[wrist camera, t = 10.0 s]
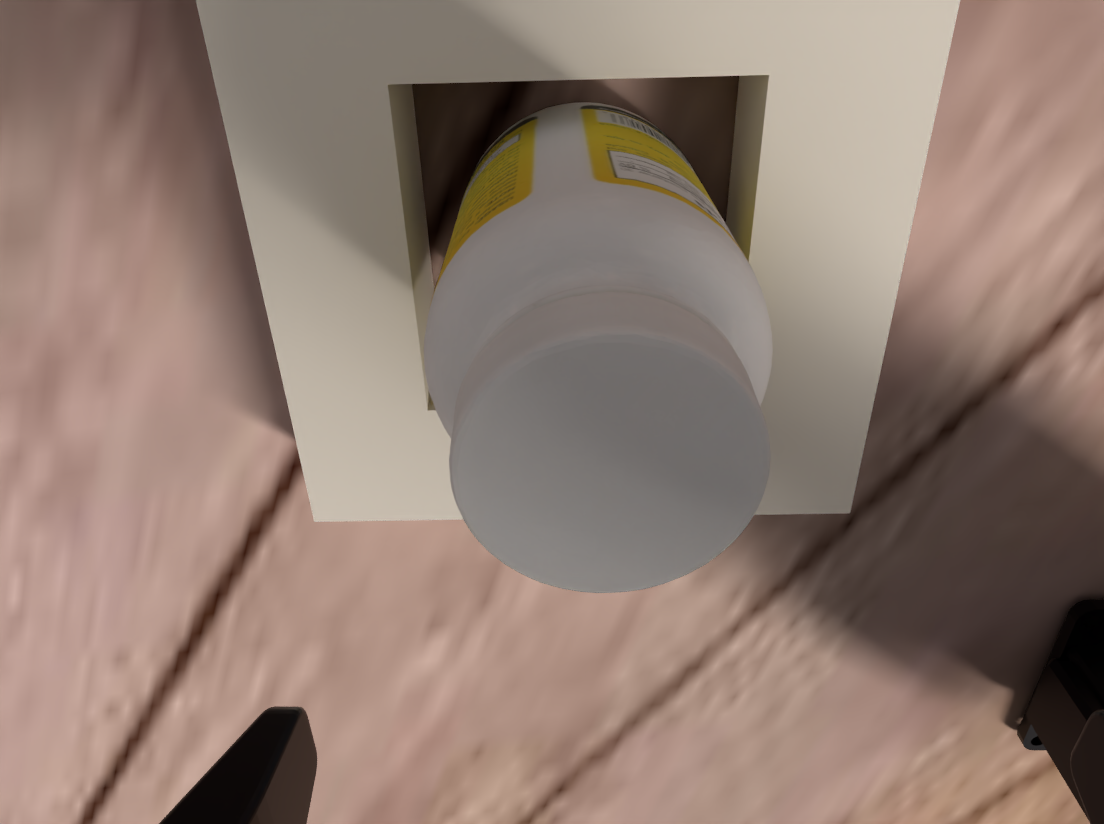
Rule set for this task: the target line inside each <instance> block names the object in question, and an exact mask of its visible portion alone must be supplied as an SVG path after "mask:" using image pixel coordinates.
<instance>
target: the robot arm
mask: <svg viewBox="0 0 1104 824" xmlns="http://www.w3.org/2000/svg"><path fill="white" fill-rule="evenodd" d="M1017 735H1018V737H1019V738H1020V740H1021V742H1022V743H1023V745H1024V747H1025V748H1027V749H1029V750H1047V752H1048V753H1049V755H1050V757H1051V758H1052V760H1053V762H1054V763H1055V765H1056V767H1057V768H1058V770H1059V772H1060V773H1061V775H1062V777H1063V778H1064V780H1065V782H1066V783H1067V785H1068V787H1069V788H1070V790H1071V792H1072V793H1073V795H1074V797H1075V798H1076V800H1077V802H1078V803H1079V805H1080V807H1081V808H1082V810H1083V812H1084V813H1085V815H1086V817H1087V818H1088V820H1089V821H1090V824H1104V600H1086V601H1082V602H1079V603H1077V604H1076V605H1074V606H1073V607H1072V608H1071V609H1070V611H1069V612H1068V614H1067V617H1066V619H1065V621H1064V624H1063V626H1062V628H1061V631H1060V633H1059V635H1058V638H1057V640H1056V642H1055V645H1054V647H1053V649H1052V652H1051V654H1050V656H1049V659H1048V661H1047V663H1046V666H1045V668H1044V670H1043V673H1042V675H1041V677H1040V680H1039V682H1038V684H1037V687H1036V689H1035V691H1034V693H1033V696H1032V698H1031V700H1030V703H1029V705H1028V707H1027V710H1026V712H1025V714H1024V717H1023V719H1022V721H1021V724H1020V726H1019V728H1018V731H1017ZM316 769H317V752H316V747H315V743H314V739H313V735H312V732H311V728H310V724H309V720H308V716H307V714H306V711H305V710H304V709H303V708H302V707H271V708H268V709H267V710H265V711H264V712H263V713H262V714H261V715H260V716H259V717H258V718H257V719H256V720H255V721H254V722H253V723H252V724H251V725H250V727H249V728H248V729H247V730H246V731H245V732H244V733H243V734H242V735H241V736H240V737H239V738H238V739H237V740H236V742H235V743H234V744H233V745H232V746H231V747H230V748H229V749H228V750H227V751H226V752H225V753H224V754H223V756H222V757H221V758H220V759H219V760H218V761H217V762H216V763H215V764H214V765H213V766H212V767H211V768H210V769H209V771H208V772H207V773H206V774H205V775H204V776H203V777H202V778H201V779H200V780H199V781H198V782H197V783H196V784H195V786H194V787H193V788H192V789H191V790H190V791H189V792H188V793H187V794H186V795H185V796H184V797H183V798H182V800H181V801H180V802H179V803H178V804H177V805H176V806H175V807H174V808H173V809H172V810H171V811H170V812H169V813H168V815H167V816H166V817H165V818H164V819H163V820H162V821H161V822H160V823H159V824H306V823H307V818H308V812H309V807H310V802H311V797H312V791H313V786H314V781H315V776H316Z"/></svg>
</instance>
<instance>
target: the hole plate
mask: <svg viewBox="0 0 1104 824" xmlns="http://www.w3.org/2000/svg"><path fill="white" fill-rule="evenodd" d="M959 3H960V0H196V4H197V8H198V13H199V17H200V22H201V26H202V30H203V35H204V39H205V43H206V48H207V52H208V57H209V61H210V65H211V70H212V74H213V79H214V83H215V87H216V92H217V96H218V101H219V105H220V109H221V114H222V118H223V123H224V127H225V131H226V136H227V140H228V145H229V149H230V153H231V158H232V162H233V167H234V171H235V175H236V180H237V184H238V189H239V193H240V197H241V202H242V206H243V210H244V215H245V219H246V224H247V228H248V232H249V237H250V241H251V246H252V250H253V254H254V259H255V263H256V268H257V272H258V276H259V281H260V285H261V290H262V294H263V298H264V303H265V307H266V312H267V316H268V320H269V325H270V329H271V334H272V338H273V342H274V347H275V351H276V355H277V360H278V364H279V369H280V373H281V377H282V382H283V386H284V391H285V395H286V399H287V404H288V408H289V413H290V417H291V421H292V426H293V430H294V435H295V439H296V443H297V448H298V452H299V457H300V461H301V465H302V470H303V474H304V479H305V483H306V487H307V492H308V496H309V501H310V505H311V509H312V514H313V518H314V522H334V521H397V520H460V519H463V517H462V515H461V513H460V511H459V509H458V506H457V504H456V502H455V498H454V495H453V491H452V488H451V481H450V469H449V455H450V445H451V438H450V436H449V435H448V433H447V431H446V430H445V428H444V426H443V424H442V422H441V420H440V418H439V416H438V414H437V412H436V409H435V406H434V404H433V401H432V399H431V396H430V393H429V389H428V384H427V380H426V374H425V365H424V338H425V332H426V325H427V319H428V313H429V308H430V304H431V300H432V296H433V293H434V284H433V275H432V266H431V256H430V247H429V238H428V228H427V219H426V210H425V201H424V191H423V182H422V173H421V163H420V154H419V145H418V136H417V126H416V117H415V108H414V98H413V89H412V84H429V83H469V82H508V81H548V80H588V79H628V78H667V77H707V76H739V84H738V95H737V106H736V117H735V128H734V139H733V150H732V161H731V172H730V183H729V194H728V205H727V216H726V225H727V227H728V228H729V230H730V232H731V234H732V236H733V237H734V239H735V240H736V242H737V244H738V246H739V247H740V249H741V250H742V252H743V253H744V255H745V257H746V259H747V260H748V262H749V264H750V265H751V267H752V269H753V271H754V273H755V276H756V278H757V281H758V283H759V285H760V287H761V290H762V293H763V296H764V299H765V302H766V306H767V311H768V315H769V319H770V325H771V331H772V346H773V352H772V365H771V372H770V377H769V381H768V385H767V389H766V392H765V395H764V398H763V401H762V403H761V406H760V407H761V410H762V412H763V415H764V417H765V421H766V424H767V427H768V434H769V440H770V451H771V461H770V471H769V478H768V481H767V484H766V488H765V491H764V494H763V497H762V499H761V502H760V504H759V506H758V509H757V511H756V512H755V514H754V515H778V514H841V513H850V511H851V507H852V502H853V497H854V493H855V488H856V483H857V479H858V474H859V469H860V465H861V460H862V455H863V451H864V446H865V441H866V437H867V432H868V427H869V423H870V418H871V414H872V409H873V404H874V400H875V395H876V390H877V386H878V381H879V376H880V372H881V367H882V362H883V358H884V353H885V348H886V344H887V339H888V334H889V330H890V325H891V320H892V316H893V311H894V306H895V302H896V297H897V292H898V288H899V283H900V278H901V274H902V269H903V264H904V260H905V255H906V250H907V246H908V241H909V236H910V232H911V227H912V222H913V218H914V213H915V208H916V204H917V199H918V194H919V190H920V185H921V180H922V176H923V171H924V166H925V162H926V157H927V153H928V148H929V143H930V139H931V134H932V129H933V125H934V120H935V115H936V111H937V106H938V101H939V97H940V92H941V87H942V83H943V78H944V73H945V69H946V64H947V59H948V55H949V50H950V45H951V41H952V36H953V31H954V27H955V22H956V17H957V13H958V8H959Z"/></svg>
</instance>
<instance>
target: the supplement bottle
mask: <svg viewBox="0 0 1104 824" xmlns="http://www.w3.org/2000/svg"><path fill="white" fill-rule="evenodd" d="M772 352H773V346H772V331H771V325H770V319H769V315H768V311H767V306H766V302H765V299H764V296H763V293H762V290H761V287H760V285H759V283H758V281H757V278H756V276H755V273H754V271H753V269H752V267H751V265H750V264H749V262H748V260H747V259H746V257H745V255H744V253H743V252H742V250H741V249H740V247H739V246H738V244H737V242H736V240H735V239H734V237H733V236H732V234H731V232H730V230H729V228H728V227H727V225H726V224H725V222H724V220H723V218H722V217H721V215H720V214H719V212H718V210H717V209H716V207H715V205H714V203H713V202H712V200H711V199H710V197H709V195H708V193H707V192H706V190H705V188H704V187H703V185H702V183H701V182H700V180H699V178H698V177H697V175H696V173H695V172H694V170H693V168H692V166H691V165H690V163H689V161H688V160H687V158H686V157H685V156H684V154H683V153H682V152H681V150H680V149H679V148H678V147H677V146H676V145H675V144H674V143H673V141H672V140H671V139H670V138H668V137H667V136H666V135H665V134H664V133H663V132H662V131H661V130H660V129H659V128H657V127H656V126H655V125H653V124H652V123H650V122H649V121H647V120H646V119H644V118H642V117H640V116H639V115H636V114H634V113H632V112H630V111H627V110H625V109H622V108H619V107H616V106H612V105H606V104H601V103H590V102H580V103H568V104H561V105H556V106H552V107H549V108H545V109H543V110H540V111H538V112H535V113H533V114H531V115H529V116H527V117H525V118H523V119H521V120H520V121H518V122H517V123H515V124H514V125H512V126H511V127H510V128H508V129H507V130H506V131H505V132H504V133H503V134H501V135H500V136H499V137H498V138H497V139H496V140H495V141H494V142H493V143H492V145H491V146H490V147H489V148H488V149H487V151H486V152H485V153H484V154H483V156H482V157H481V159H480V161H479V162H478V164H477V166H476V168H475V170H474V172H473V174H472V176H471V178H470V180H469V183H468V185H467V188H466V190H465V193H464V196H463V199H462V203H461V206H460V209H459V213H458V217H457V220H456V223H455V226H454V230H453V234H452V237H451V240H450V243H449V246H448V250H447V253H446V256H445V259H444V262H443V265H442V269H441V272H440V275H439V278H438V281H437V284H436V287H435V290H434V293H433V296H432V300H431V304H430V308H429V313H428V319H427V325H426V332H425V338H424V365H425V374H426V380H427V384H428V389H429V393H430V396H431V399H432V401H433V404H434V406H435V409H436V412H437V414H438V416H439V418H440V420H441V422H442V424H443V426H444V428H445V430H446V431H447V433H448V435H449V436H450V438H451V445H450V455H449V469H450V481H451V488H452V491H453V495H454V498H455V502H456V504H457V506H458V509H459V511H460V513H461V515H462V517H463V520H464V521H465V523H466V524H467V526H468V528H469V529H470V531H471V532H472V534H473V535H474V536H475V537H476V539H477V540H478V541H479V542H480V543H481V544H482V545H483V546H484V547H485V548H486V549H487V550H488V551H489V552H490V553H491V554H492V555H494V556H495V557H496V558H497V559H499V560H500V561H501V562H503V563H504V564H505V565H507V566H509V567H510V568H512V569H514V570H516V571H517V572H519V573H521V574H523V575H525V576H527V577H529V578H531V579H534V580H536V581H539V582H541V583H544V584H548V585H551V586H555V587H558V588H562V589H568V590H574V591H580V592H592V593H612V592H627V591H635V590H641V589H646V588H650V587H654V586H657V585H661V584H665V583H667V582H670V581H672V580H675V579H677V578H679V577H682V576H684V575H687V574H689V573H690V572H692V571H694V570H696V569H698V568H700V567H702V566H704V565H705V564H707V563H708V562H709V561H711V560H712V559H714V558H715V557H716V556H718V555H719V554H720V553H722V552H723V551H724V550H725V549H726V548H727V547H728V546H730V545H731V544H732V543H733V542H734V541H735V540H736V539H737V537H738V536H739V535H740V534H741V533H742V531H743V530H744V529H745V528H746V526H747V525H748V524H749V522H750V521H751V519H752V517H753V516H754V514H755V512H756V511H757V509H758V506H759V504H760V502H761V499H762V497H763V494H764V491H765V488H766V484H767V481H768V478H769V471H770V461H771V451H770V440H769V434H768V427H767V424H766V421H765V417H764V415H763V412H762V410H761V407H760V406H761V403H762V401H763V398H764V395H765V392H766V389H767V385H768V381H769V377H770V372H771V365H772Z"/></svg>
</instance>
